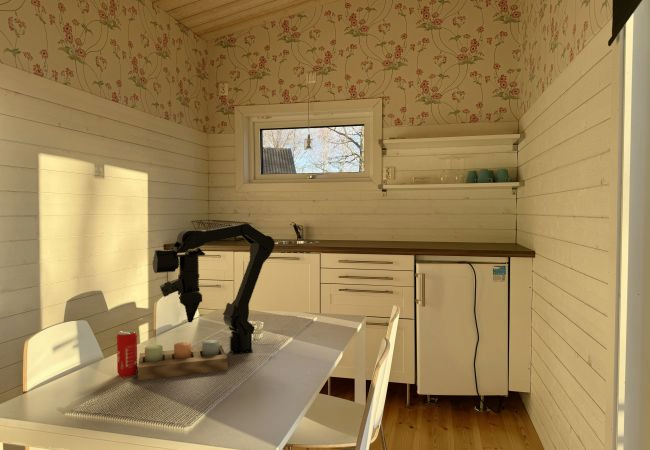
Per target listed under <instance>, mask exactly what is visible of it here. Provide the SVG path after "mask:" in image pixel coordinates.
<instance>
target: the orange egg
mask: <svg viewBox="0 0 650 450" xmlns="http://www.w3.org/2000/svg"><path fill="white" fill-rule="evenodd" d="M173 347H174V348H173V350H174V359H184V358H191V348H192V343H191V342H188V341H187V342H185V341H183V342H178V343H175V344H174V345H173Z"/></svg>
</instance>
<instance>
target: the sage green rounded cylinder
mask: <svg viewBox="0 0 650 450" xmlns="http://www.w3.org/2000/svg"><path fill="white" fill-rule="evenodd" d="M201 345H202V346H201V347H202V356H203V357H204V356H213V355H219V346H220V341H219V340H217V339H207V340H203V341H202V342H201Z"/></svg>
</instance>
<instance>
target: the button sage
mask: <svg viewBox="0 0 650 450" xmlns="http://www.w3.org/2000/svg"><path fill="white" fill-rule="evenodd" d="M163 349H164V348H163V345H161V344H152V345H147V346H145V347H144V353H145V362H155V361H163V351H164V350H163Z"/></svg>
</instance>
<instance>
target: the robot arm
mask: <svg viewBox="0 0 650 450" xmlns="http://www.w3.org/2000/svg"><path fill="white" fill-rule="evenodd" d="M236 237H242V239H244V240H245V241H246V242H247V243H249V244H250V247H249V261H248V263H247V266H246V269H245V271H244V274H243V277H242V280H241V283H240V286H239V288H238V290H237V294H236V297H235V299H234V300H233V301H232V303H230V302H227V303H226V305H225V310H224V311H223V313H222V315H223V321H224V322H223V323H224V324H225V325H226V326H227V327H228V329H229V331H230V335H229V337H228V338H229V339H228V340H229V342H228V343H229V350H230V351H231V353H232V354H233V355H235V354H236V355H237V354H246V353H253V352H254V350H253V347H252V346H253V345H252V342H253V341H252V340H253V339H252V336H253V334H254V331H255V328H256V327H255V326H254V325H253V324H252V323H251V322H250V321H249V316H250V302H251V299H252V296H253V293H254V291H255V287H256V285H257V282H258V279H259V278H260V277H259V276H260V274H261V271H262V269H263V267H264V266H263V265H264V263H265V262H266V261H267V260H268V259H269V258H270V256H271V254H272V253H273V250H274V249H275V245H276V242H275V240H274V238H273V237H272V236H269V235H266V234H264V233H263V232H261V231H259V230H257V229H256V228H254V226H252V225H251V224H250V223H245V222H244V223H243V222H242V223H238V224H234V225H228V226H222V227H221V226H220V227H217V228H211V229H184V230H181V231H180V232H179V233H178V234H177V237H176V242H174V244H173V245H172V246H171V247H170V249H166V250H162V249H156V250H155V249H154V254H153V255H154V256H153V257H152V258H153V259H152V269H153V273H154V274H162V273H164V274H165V273H174V272H176V270H178V268H179V273H178V276H177V278H176V279H173V280H171V281H170V280H168V282H164V283H163V284H161V285H160V286H159V289H160V291H161V293H162V296H163V297H164V298H166V297H169V295H172V294H173V293H174V294H175V293H176V292H177V295H178V299H179V303H180V304H182V306H184V309H185V314H186V319H187V322H188V323H192V322H193V321H194V318H195V316H196V313H197V311H198V308H199V305H200V303H203V294H202V292H200V291H201V290H200V284H199V283H200V273H199V272H200V271H199V257H201V256H203V257H204V256H206V253H205V252H204V251H202V249H201V247H202V246H205V245H207V244H209V243H211V242H216V241H220V240H227V239H231V238H236Z"/></svg>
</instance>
